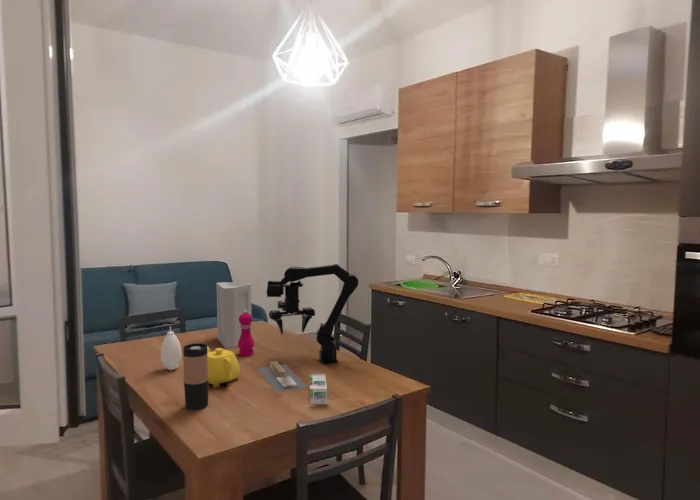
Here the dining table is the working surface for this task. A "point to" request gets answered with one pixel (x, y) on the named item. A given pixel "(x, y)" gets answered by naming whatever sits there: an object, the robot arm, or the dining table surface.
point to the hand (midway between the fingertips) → (292, 333)
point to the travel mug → (195, 376)
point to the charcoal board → (272, 381)
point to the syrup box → (318, 389)
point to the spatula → (282, 376)
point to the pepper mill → (245, 335)
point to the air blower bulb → (171, 351)
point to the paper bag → (231, 310)
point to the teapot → (221, 366)
